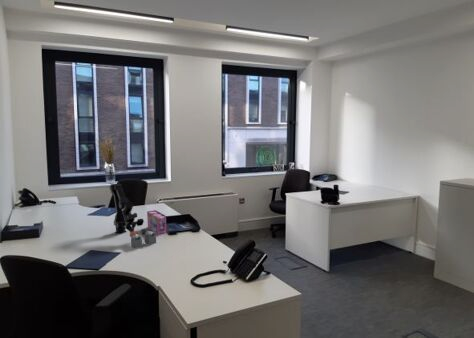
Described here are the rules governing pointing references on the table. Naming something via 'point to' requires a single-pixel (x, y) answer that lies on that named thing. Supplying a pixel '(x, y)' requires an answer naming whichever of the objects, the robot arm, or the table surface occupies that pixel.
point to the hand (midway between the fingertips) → (133, 233)
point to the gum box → (156, 221)
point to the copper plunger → (134, 234)
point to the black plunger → (146, 231)
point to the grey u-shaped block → (150, 238)
